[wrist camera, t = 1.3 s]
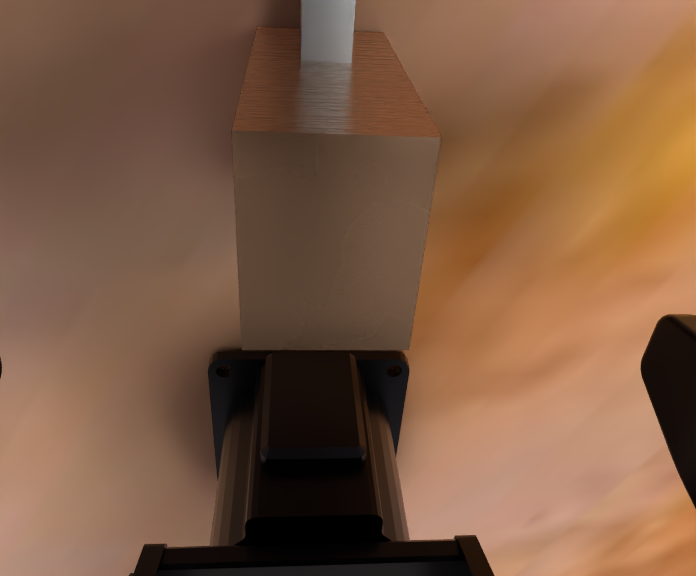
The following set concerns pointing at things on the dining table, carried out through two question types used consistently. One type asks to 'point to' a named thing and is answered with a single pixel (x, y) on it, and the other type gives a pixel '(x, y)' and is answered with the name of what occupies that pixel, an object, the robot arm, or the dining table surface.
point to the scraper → (330, 187)
